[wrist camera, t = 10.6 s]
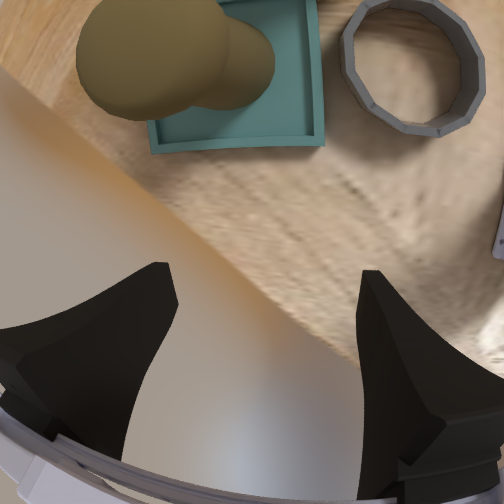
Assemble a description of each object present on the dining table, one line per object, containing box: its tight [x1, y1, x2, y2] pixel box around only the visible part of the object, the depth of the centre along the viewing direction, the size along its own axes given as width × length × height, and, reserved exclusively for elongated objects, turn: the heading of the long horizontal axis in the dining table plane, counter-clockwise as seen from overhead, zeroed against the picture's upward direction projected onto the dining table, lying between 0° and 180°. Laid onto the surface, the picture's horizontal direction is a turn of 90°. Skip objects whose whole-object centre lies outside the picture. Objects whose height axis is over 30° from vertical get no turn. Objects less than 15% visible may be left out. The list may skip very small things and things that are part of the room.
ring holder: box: [339, 0, 486, 138], centre depth 13 cm, size 9×9×2 cm
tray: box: [147, 0, 325, 155], centre depth 16 cm, size 10×11×1 cm
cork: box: [76, 0, 275, 121], centre depth 11 cm, size 6×6×11 cm
